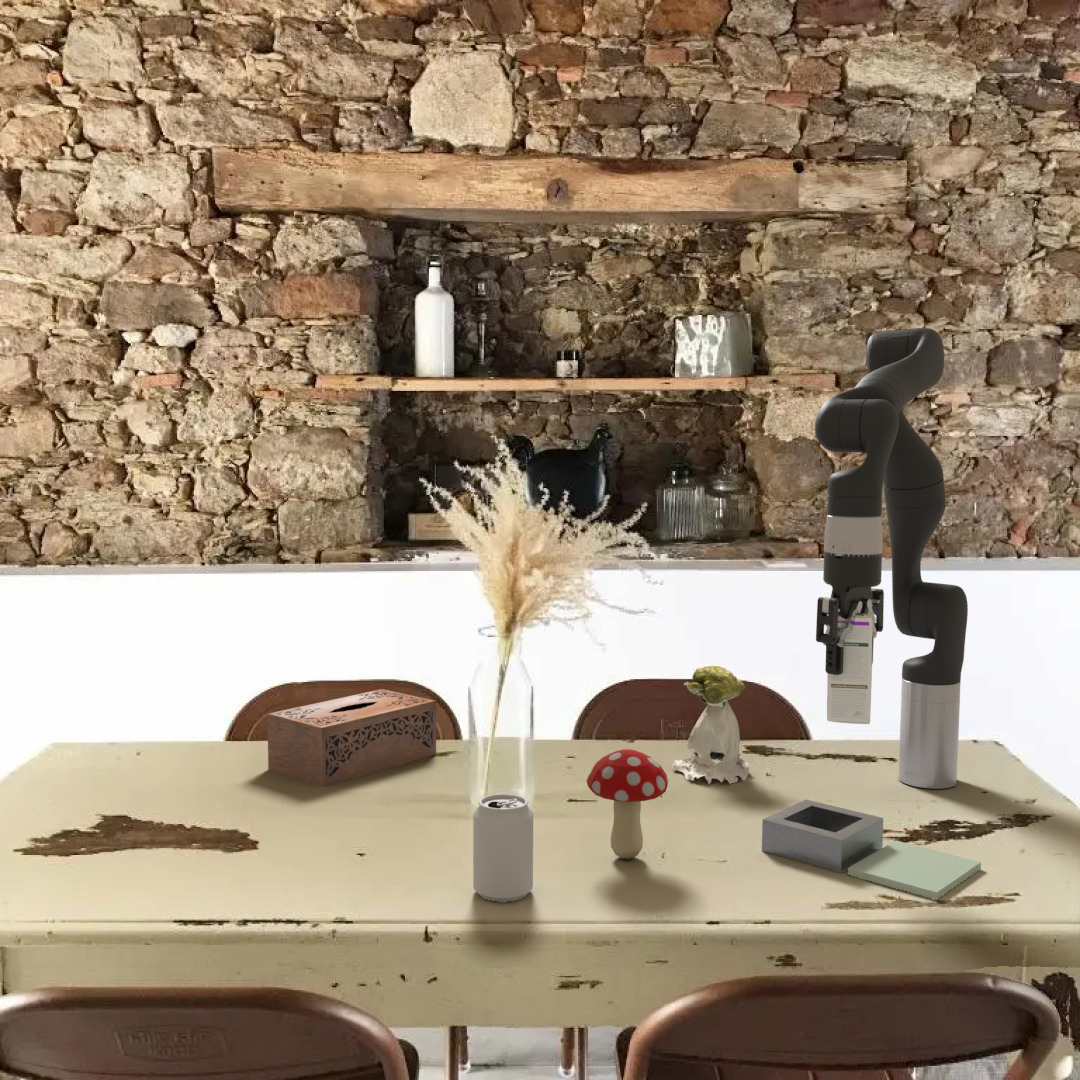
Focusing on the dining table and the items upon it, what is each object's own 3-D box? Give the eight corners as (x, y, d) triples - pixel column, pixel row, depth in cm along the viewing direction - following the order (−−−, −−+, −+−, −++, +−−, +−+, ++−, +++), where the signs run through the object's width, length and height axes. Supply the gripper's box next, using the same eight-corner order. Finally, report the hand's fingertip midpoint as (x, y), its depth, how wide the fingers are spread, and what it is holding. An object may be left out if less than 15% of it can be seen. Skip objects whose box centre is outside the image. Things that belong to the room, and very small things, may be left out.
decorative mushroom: (608, 878, 151) (609, 765, 150) (572, 850, 161) (573, 744, 160) (682, 866, 156) (684, 756, 154) (642, 839, 166) (644, 736, 164)
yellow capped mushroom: (727, 760, 206) (729, 657, 204) (762, 781, 194) (765, 672, 192) (664, 765, 202) (665, 661, 201) (696, 787, 190) (698, 676, 188)
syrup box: (871, 725, 155) (875, 616, 153) (825, 722, 156) (829, 614, 155) (869, 715, 160) (873, 610, 159) (824, 712, 162) (828, 608, 160)
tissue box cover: (382, 741, 218) (381, 689, 217) (436, 755, 209) (436, 700, 208) (268, 771, 199) (267, 713, 198) (322, 788, 190) (321, 727, 189)
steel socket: (805, 829, 170) (806, 799, 170) (882, 849, 162) (883, 818, 162) (761, 851, 161) (762, 819, 161) (840, 873, 153) (841, 840, 153)
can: (472, 882, 150) (472, 791, 149) (530, 880, 150) (531, 790, 149) (474, 906, 142) (474, 810, 141) (535, 904, 143) (535, 808, 142)
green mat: (895, 847, 163) (895, 840, 163) (980, 869, 155) (981, 862, 155) (847, 875, 153) (848, 867, 153) (936, 900, 145) (936, 892, 145)
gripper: (853, 543, 164) (850, 658, 165) (800, 551, 153) (797, 673, 155) (903, 547, 159) (899, 665, 160) (852, 555, 148) (848, 681, 150)
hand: (849, 669), depth 158 cm, fingers closed on syrup box, 8 cm apart
